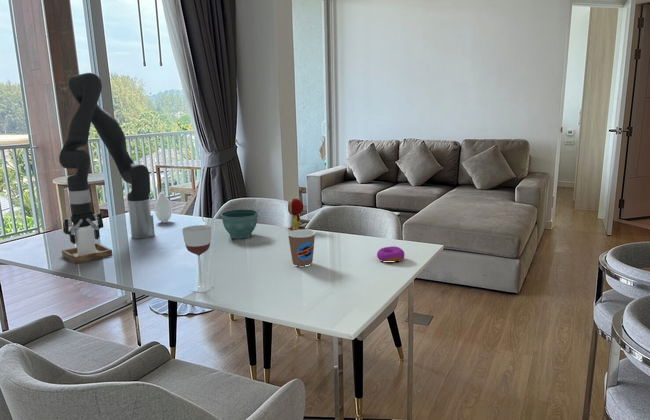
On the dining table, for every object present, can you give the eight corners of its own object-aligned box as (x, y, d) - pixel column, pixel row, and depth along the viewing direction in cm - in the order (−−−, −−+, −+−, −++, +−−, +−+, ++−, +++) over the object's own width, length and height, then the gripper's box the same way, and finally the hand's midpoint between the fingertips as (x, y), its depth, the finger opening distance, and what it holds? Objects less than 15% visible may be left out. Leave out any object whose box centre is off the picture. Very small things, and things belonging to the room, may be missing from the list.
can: (89, 257, 189) (84, 227, 186) (74, 256, 190) (70, 227, 187) (99, 252, 195) (95, 223, 192) (85, 251, 196) (81, 223, 193)
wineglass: (190, 284, 159) (185, 225, 155) (216, 283, 160) (212, 224, 156) (185, 293, 151) (180, 232, 147) (213, 292, 152) (208, 230, 148)
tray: (98, 248, 202) (97, 242, 202) (112, 255, 192) (111, 249, 191) (62, 256, 193) (61, 250, 192) (75, 264, 182) (74, 257, 182)
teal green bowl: (266, 234, 219) (265, 211, 217) (242, 243, 206) (240, 218, 204) (239, 230, 228) (238, 207, 226) (215, 238, 215) (213, 214, 212)
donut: (378, 255, 186) (378, 244, 185) (405, 256, 184) (405, 245, 183) (375, 263, 176) (375, 252, 175) (403, 265, 174) (403, 253, 173)
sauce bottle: (153, 223, 244) (150, 189, 240) (161, 220, 251) (158, 186, 247) (168, 224, 242) (164, 189, 239) (175, 220, 250) (172, 186, 246)
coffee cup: (295, 270, 170) (294, 238, 168) (284, 262, 179) (283, 231, 176) (321, 265, 175) (320, 234, 172) (309, 258, 184) (308, 227, 181)
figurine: (288, 227, 231) (287, 197, 228) (308, 227, 229) (307, 197, 226) (284, 232, 222) (283, 200, 219) (305, 232, 221) (304, 200, 218)
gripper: (95, 197, 195) (100, 236, 199) (57, 203, 185) (63, 243, 189) (102, 199, 190) (107, 239, 193) (63, 205, 180) (69, 247, 184)
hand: (85, 241), depth 191 cm, fingers open, 8 cm apart
